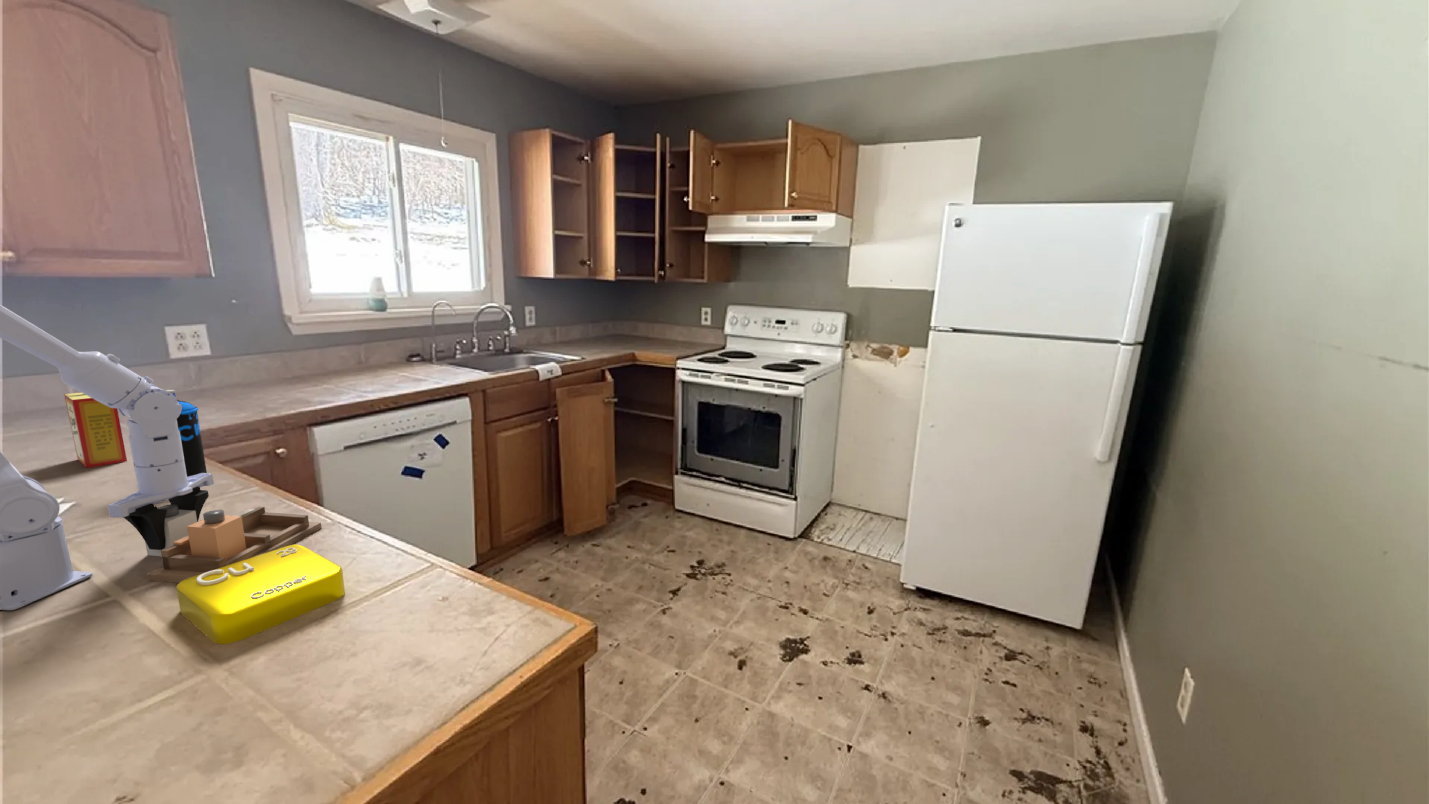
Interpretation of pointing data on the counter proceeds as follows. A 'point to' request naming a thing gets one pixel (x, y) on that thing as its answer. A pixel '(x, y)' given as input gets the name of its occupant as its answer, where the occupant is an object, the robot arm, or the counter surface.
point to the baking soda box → (95, 431)
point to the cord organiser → (260, 538)
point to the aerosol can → (190, 438)
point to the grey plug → (174, 525)
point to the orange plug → (217, 535)
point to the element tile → (259, 592)
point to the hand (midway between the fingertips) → (173, 541)
